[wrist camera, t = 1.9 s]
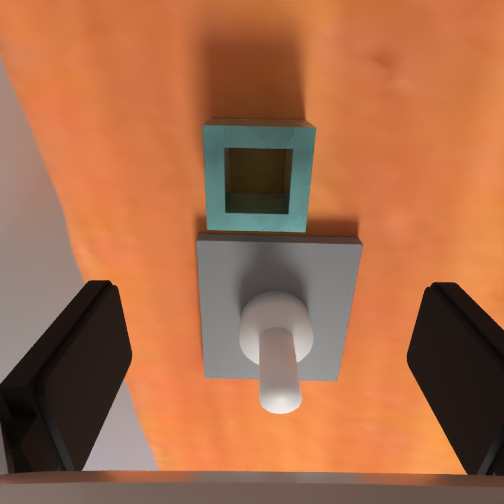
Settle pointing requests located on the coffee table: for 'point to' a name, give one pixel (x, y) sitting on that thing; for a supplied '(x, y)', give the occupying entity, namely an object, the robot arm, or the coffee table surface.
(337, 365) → the post plate
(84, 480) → the robot arm
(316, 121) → the coffee table surface
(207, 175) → the collar
